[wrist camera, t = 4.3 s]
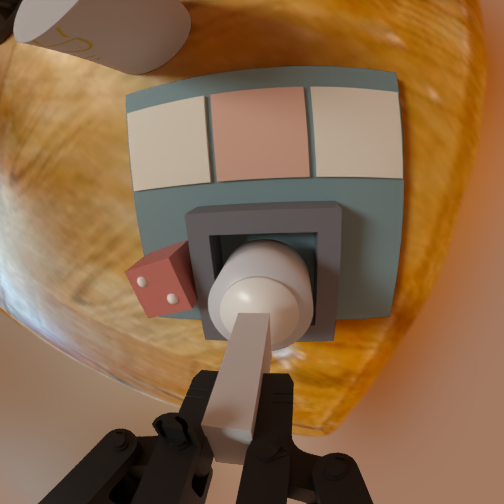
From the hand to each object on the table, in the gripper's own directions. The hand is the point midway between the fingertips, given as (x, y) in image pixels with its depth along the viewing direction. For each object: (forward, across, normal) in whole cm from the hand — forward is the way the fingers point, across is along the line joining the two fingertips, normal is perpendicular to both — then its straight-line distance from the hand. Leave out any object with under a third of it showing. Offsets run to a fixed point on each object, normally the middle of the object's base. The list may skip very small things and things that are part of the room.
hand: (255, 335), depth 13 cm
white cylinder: (+10, -9, +21) cm, 25 cm away
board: (+10, 0, +5) cm, 11 cm away
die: (+9, -8, 0) cm, 11 cm away
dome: (+6, 0, 0) cm, 6 cm away
